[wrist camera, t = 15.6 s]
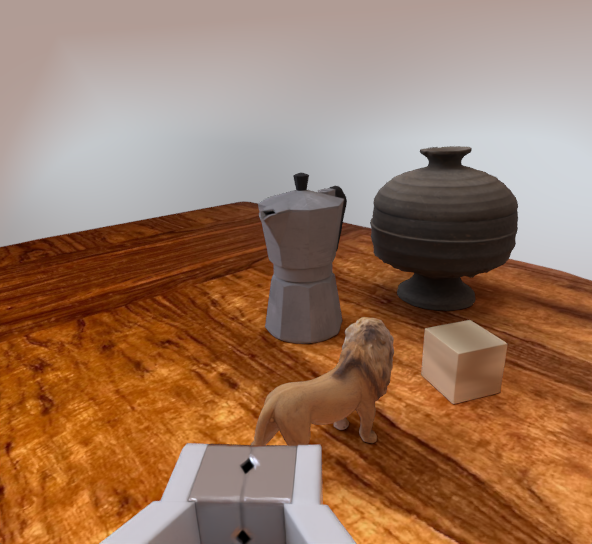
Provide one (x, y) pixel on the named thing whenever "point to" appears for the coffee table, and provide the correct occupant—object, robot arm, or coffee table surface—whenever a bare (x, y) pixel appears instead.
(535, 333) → the coffee table surface
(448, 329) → the beige block
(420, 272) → the pot
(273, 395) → the lion figurine
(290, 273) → the coffeepot
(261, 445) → the robot arm
